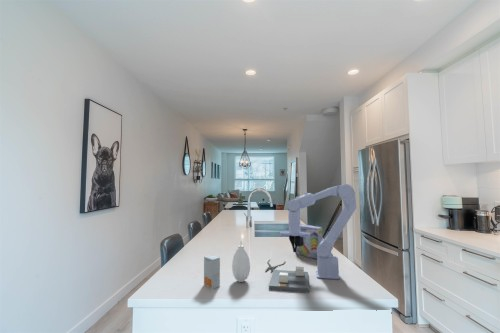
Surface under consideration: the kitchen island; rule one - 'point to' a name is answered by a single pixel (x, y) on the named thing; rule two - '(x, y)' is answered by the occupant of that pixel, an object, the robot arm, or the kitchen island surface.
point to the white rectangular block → (283, 277)
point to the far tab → (299, 271)
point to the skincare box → (212, 271)
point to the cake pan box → (309, 241)
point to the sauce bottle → (241, 264)
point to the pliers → (272, 267)
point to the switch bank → (289, 282)
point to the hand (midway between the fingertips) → (294, 251)
